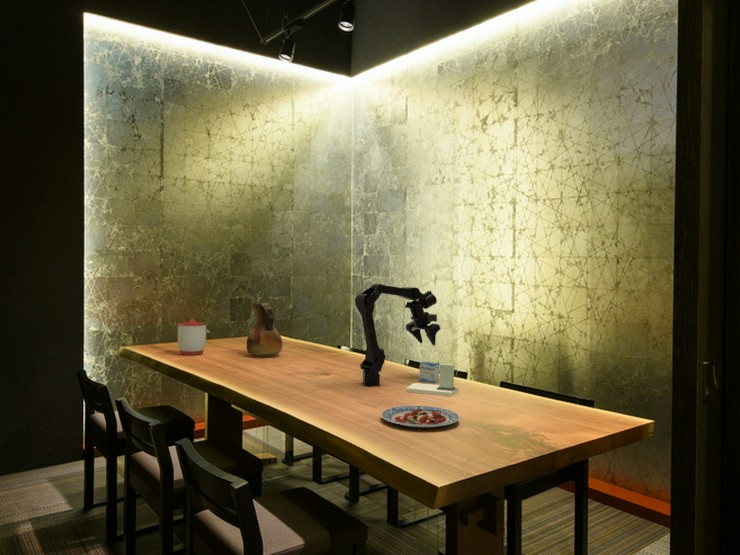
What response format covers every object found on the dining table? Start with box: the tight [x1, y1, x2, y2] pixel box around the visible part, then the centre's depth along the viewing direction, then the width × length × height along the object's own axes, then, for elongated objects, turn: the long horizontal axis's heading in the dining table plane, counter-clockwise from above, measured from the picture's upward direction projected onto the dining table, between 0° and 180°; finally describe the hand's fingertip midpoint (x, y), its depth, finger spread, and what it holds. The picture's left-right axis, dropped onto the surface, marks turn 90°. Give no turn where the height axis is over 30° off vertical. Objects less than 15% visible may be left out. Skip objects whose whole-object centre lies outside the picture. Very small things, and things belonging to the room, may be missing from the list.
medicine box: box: [418, 360, 440, 384], centre depth 258 cm, size 8×4×9 cm, turn 62°
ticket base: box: [405, 382, 459, 397], centre depth 238 cm, size 19×12×2 cm, turn 68°
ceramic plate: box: [380, 405, 460, 429], centre depth 191 cm, size 26×26×3 cm
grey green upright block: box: [439, 363, 455, 389], centre depth 235 cm, size 5×4×10 cm
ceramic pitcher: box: [246, 302, 283, 356], centre depth 322 cm, size 20×20×30 cm
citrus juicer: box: [177, 318, 210, 356], centre depth 323 cm, size 16×17×20 cm
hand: (427, 344), depth 265 cm, fingers open, 9 cm apart
